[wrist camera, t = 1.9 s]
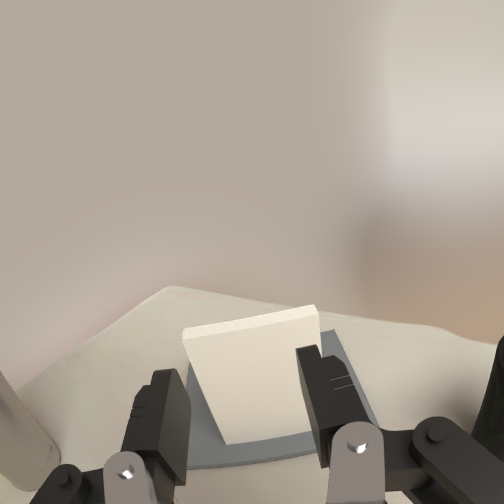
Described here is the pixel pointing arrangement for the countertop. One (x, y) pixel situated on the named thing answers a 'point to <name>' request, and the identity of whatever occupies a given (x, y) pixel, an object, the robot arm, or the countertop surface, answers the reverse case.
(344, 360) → the mat
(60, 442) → the countertop surface
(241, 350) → the tile
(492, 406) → the cup
